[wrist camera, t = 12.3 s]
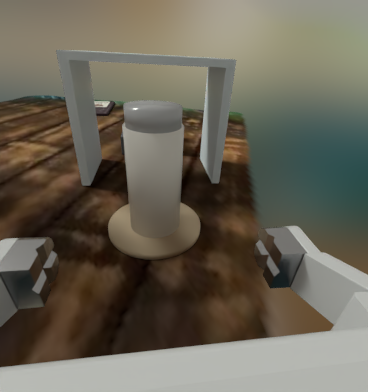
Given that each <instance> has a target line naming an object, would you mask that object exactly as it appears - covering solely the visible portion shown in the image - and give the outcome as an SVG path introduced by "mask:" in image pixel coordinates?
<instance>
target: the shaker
mask: <svg viewBox="0 0 368 392" xmlns="http://www.w3.org/2000/svg"><path fill="white" fill-rule="evenodd" d="M124 118H125V123H124V124H123V125H122V127H123V139H124V151H125V163H126V175H127V187H128V199H129V211H130V222H131V228H132V230H133V231H134V232H135V233H137V234H138V235H140V236H143V237H147V238H161V237H165V236H168V235H170V234H172V233H174V232H175V231H176V230H177V229H178V227H179V222H180V202H181V181H182V160H183V139H184V125H183V124H182V106H181V105H180V104H177V103H173V102H166V101H155V100H154V101H153V100H144V101H132V102H127V103H125V104H124Z"/></svg>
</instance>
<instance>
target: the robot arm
mask: <svg viewBox="0 0 368 392" xmlns="http://www.w3.org/2000/svg"><path fill="white" fill-rule="evenodd" d="M258 237H259V238H260V240H259V241H258V242H257V243H256V245H255V249H254V253H255V259H256V262H257V264H258V266H259V267H261V268H262V269H263V270H264V273H263V276H264V278H265V280H266V282H267V283H268V285H269V287H270V288H286V287H291V289H292V290H293V291H294V292H295V293H297V294H298V295H299V296H300V297H301V298H302V299H304V300H305V301H306V302H307V303H308V304H310V305H311V306H312V307H313V308H315V309H316V310H317V311H318V312H319V313H320V314H322V315H323V316H324V317H325V318H327V319H328V320H329V321H330V322H331V323H332V324H334V326H333V328H332V329H331V331H325V332H317V333H307V334H299V335H289V336H280V337H271V338H262V339H253V340H244V341H235V342H226V343H217V344H208V345H199V346H190V347H181V348H171V349H162V350H153V351H144V352H135V353H126V354H117V355H108V356H99V357H89V358H80V359H71V360H62V361H53V362H44V363H35V364H26V365H17V366H8V367H0V392H368V275H367V274H365V273H363V272H361V271H359V270H357V269H355V268H353V267H351V266H349V265H347V264H346V263H344V262H342V261H340V260H338V259H336V258H334V257H332V256H330V255H328V254H327V253H321V252H320V251H319V250H318V249H317V247H316V246H315V245H314V244H313V243H312V242H311V241H310V239H309V238H308V237H307V236H306V235H305V234H304V232H303V231H302V230H301V229H300V228H299V227H297V226H286V227H273V228H261V229H260V231H259V234H258ZM53 247H54V243H53V241H52V239H51V238H49V237H38V238H6V239H3V240H1V241H0V327H1V326H2V325H3V324H4V323H5V322H6V321H7V320H8V319H9V318H10V317H11V316H12V315H13V314H15V313H16V312H17V309H25V308H35V307H44V306H45V303H46V301H47V298H48V296H49V294H50V291H51V289H50V286H49V284H50V283H52V282H53V281H54V280H55V279H56V276H57V274H58V268H59V261H58V256H57V254H56V253H54V252H53V251H52V249H53Z"/></svg>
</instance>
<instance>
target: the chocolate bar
mask: <svg viewBox="0 0 368 392" xmlns="http://www.w3.org/2000/svg"><path fill="white" fill-rule="evenodd" d="M94 103H95V110H96V116H107V115H108V113H109V112H110V110H111V109H112V107H113V105H114V104H115V102H102V101H94Z"/></svg>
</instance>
